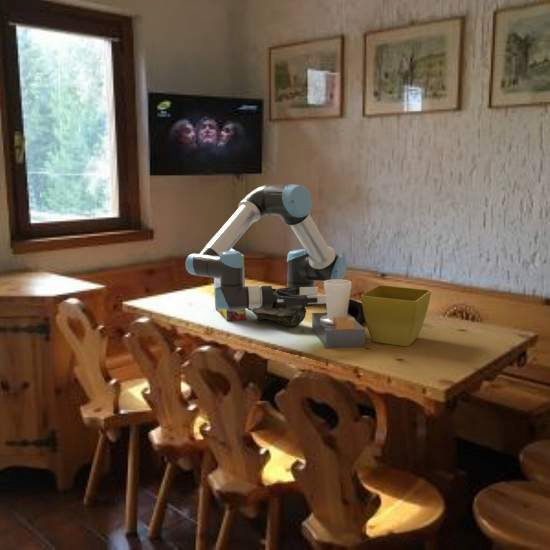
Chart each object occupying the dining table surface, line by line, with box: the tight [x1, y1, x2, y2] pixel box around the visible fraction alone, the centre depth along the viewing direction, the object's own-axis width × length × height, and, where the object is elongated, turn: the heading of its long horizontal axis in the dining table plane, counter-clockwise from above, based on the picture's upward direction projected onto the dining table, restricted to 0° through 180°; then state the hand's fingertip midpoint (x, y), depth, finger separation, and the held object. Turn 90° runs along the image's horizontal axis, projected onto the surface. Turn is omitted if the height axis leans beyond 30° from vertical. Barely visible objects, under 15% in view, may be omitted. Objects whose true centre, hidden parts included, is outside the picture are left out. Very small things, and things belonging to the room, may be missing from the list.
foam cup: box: [323, 279, 353, 320], centre depth 212 cm, size 10×9×13 cm
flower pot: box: [360, 284, 432, 347], centre depth 210 cm, size 19×19×17 cm
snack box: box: [213, 247, 247, 322], centre depth 246 cm, size 22×9×26 cm, turn 18°
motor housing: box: [311, 312, 366, 349], centre depth 214 cm, size 24×13×9 cm, turn 8°
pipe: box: [347, 298, 365, 324], centre depth 238 cm, size 10×15×15 cm
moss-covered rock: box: [247, 294, 307, 329], centre depth 234 cm, size 28×13×15 cm
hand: (322, 294), depth 211 cm, fingers open, 13 cm apart
